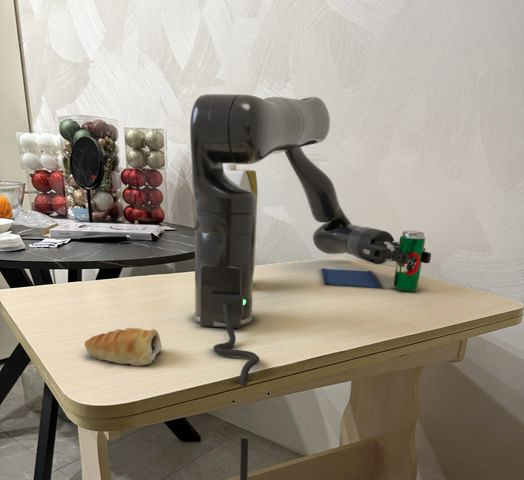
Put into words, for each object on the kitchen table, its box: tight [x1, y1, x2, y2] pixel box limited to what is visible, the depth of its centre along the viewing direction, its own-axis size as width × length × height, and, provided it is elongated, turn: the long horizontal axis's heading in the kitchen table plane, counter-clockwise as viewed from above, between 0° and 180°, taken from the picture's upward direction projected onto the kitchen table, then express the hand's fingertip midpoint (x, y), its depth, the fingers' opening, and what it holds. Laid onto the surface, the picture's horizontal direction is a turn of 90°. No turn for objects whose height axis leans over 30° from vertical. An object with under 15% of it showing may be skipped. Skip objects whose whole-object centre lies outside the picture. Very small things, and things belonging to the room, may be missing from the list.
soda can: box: [392, 230, 426, 292], centre depth 109 cm, size 5×5×12 cm
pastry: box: [84, 327, 162, 367], centre depth 67 cm, size 9×7×4 cm
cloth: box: [321, 267, 382, 289], centre depth 119 cm, size 16×12×1 cm
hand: (418, 258), depth 107 cm, fingers closed on soda can, 5 cm apart
